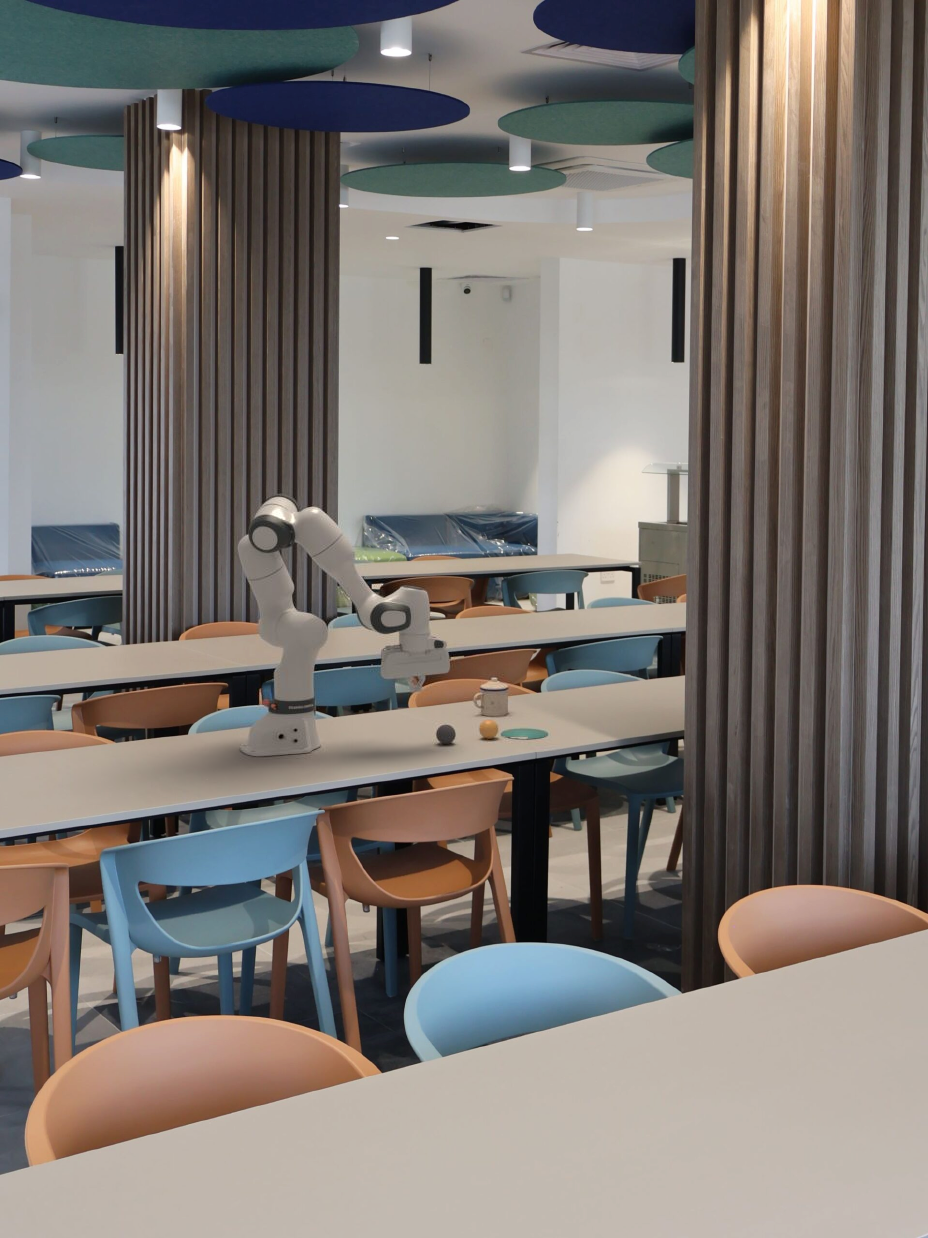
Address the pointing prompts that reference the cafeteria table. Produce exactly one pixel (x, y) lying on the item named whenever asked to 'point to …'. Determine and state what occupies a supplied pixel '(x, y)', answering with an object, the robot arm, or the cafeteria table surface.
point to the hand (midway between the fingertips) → (415, 691)
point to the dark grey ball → (445, 734)
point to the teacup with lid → (493, 698)
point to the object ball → (488, 729)
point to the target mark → (525, 733)
